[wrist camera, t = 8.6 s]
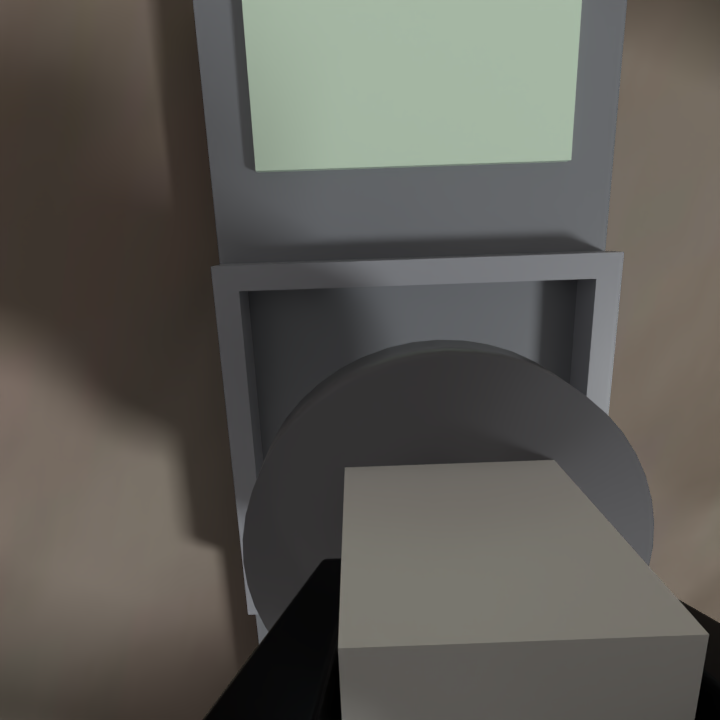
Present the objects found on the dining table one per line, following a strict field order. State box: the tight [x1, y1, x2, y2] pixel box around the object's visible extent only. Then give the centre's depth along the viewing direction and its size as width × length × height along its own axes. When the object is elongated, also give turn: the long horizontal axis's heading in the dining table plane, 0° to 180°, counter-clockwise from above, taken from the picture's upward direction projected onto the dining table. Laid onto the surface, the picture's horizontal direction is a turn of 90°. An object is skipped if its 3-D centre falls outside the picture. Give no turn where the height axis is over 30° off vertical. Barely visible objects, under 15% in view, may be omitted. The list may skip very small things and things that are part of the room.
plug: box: [243, 340, 709, 720], centre depth 7 cm, size 7×7×5 cm
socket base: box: [193, 0, 627, 644], centre depth 14 cm, size 10×25×2 cm, turn 2°
